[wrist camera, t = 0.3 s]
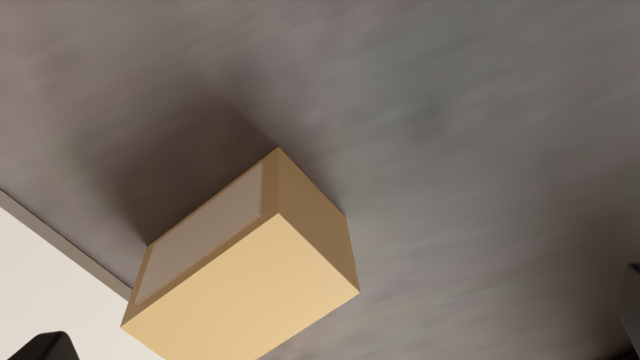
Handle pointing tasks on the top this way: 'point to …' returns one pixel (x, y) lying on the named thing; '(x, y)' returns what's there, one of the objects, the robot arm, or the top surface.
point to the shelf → (58, 292)
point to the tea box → (244, 269)
